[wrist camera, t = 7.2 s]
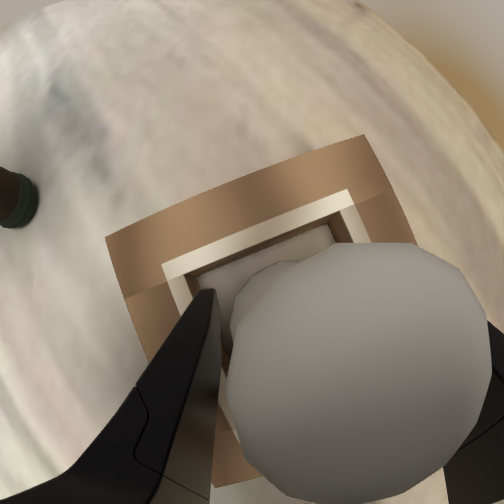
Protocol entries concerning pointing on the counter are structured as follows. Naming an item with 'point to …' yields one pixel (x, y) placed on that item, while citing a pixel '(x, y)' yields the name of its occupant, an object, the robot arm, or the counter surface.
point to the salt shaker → (356, 370)
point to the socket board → (248, 247)
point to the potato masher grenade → (16, 199)
